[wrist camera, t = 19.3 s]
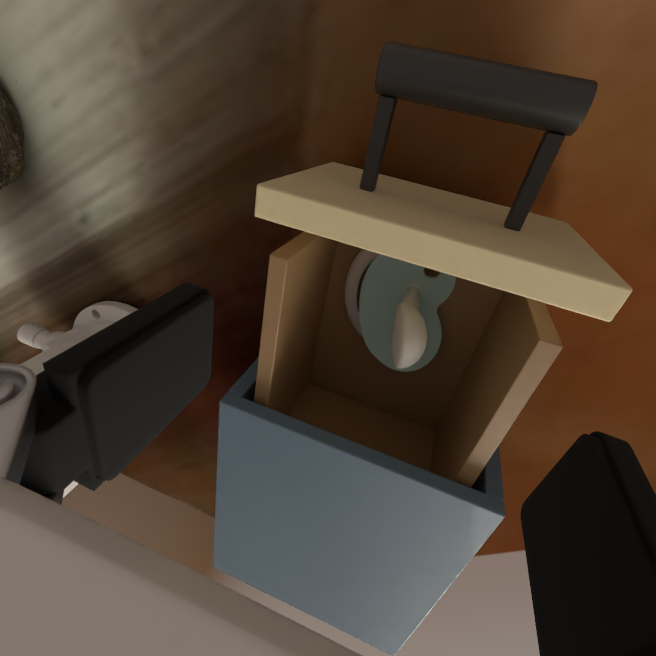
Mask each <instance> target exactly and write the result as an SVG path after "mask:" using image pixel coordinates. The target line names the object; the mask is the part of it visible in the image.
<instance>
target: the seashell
mask: <svg viewBox="0 0 656 656" xmlns="http://www.w3.org/2000/svg"><path fill="white" fill-rule="evenodd" d="M15 81H16V80H15ZM16 82H17V81H16ZM23 139H24V135H23V133H22V131H21V125H20V122H19V116H18V114H17V112H16V110H15V109H14V108H13V106H12V105H11V103H10V102H9V100H8V99H7V97H6V96H5V94H4V93H3V91H2V89H1V88H0V190H1V189H2V188H3V187H5V186H7V185H8V184H9V183H10V182H12V181H14V180H15V179H16V178H17V177H18V176H19V175H20V173H21V171H22V165H23V160H24V151H23Z"/></svg>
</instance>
